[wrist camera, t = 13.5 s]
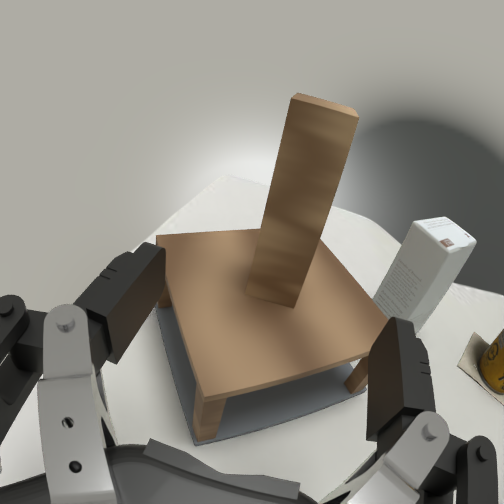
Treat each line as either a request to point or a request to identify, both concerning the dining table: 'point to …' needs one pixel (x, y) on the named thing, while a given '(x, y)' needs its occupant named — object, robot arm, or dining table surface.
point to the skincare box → (423, 270)
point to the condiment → (486, 364)
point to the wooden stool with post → (274, 279)
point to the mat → (256, 402)
